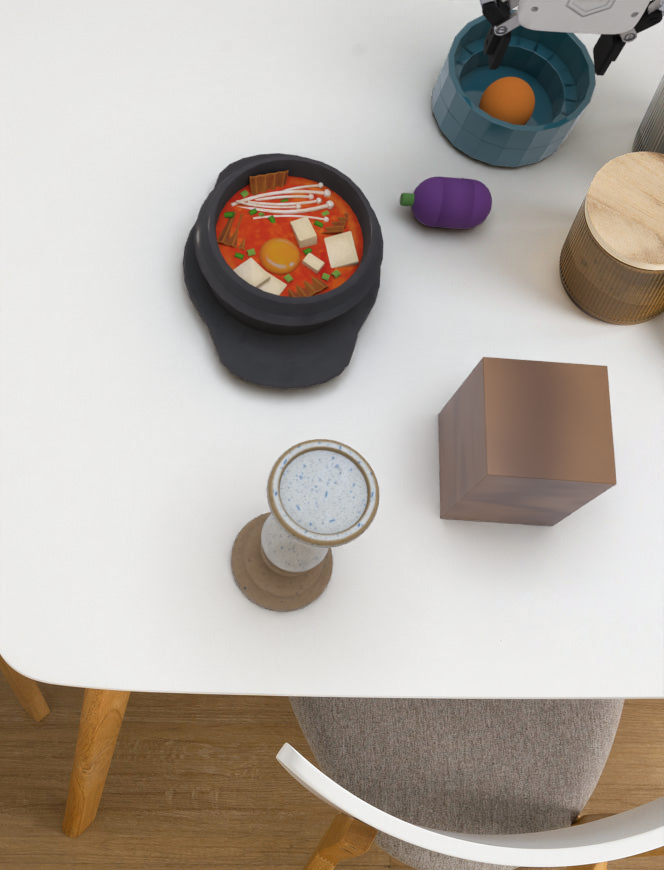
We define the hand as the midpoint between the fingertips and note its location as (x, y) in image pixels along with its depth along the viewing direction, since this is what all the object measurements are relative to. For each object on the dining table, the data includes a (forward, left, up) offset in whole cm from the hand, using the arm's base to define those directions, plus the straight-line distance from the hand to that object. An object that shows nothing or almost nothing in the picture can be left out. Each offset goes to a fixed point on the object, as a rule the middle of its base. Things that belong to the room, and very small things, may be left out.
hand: (544, 60), depth 89 cm
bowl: (+1, -2, -10) cm, 10 cm away
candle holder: (+22, +47, -10) cm, 53 cm away
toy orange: (+1, 0, -9) cm, 9 cm away
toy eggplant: (+7, +11, -10) cm, 16 cm away
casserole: (+23, +19, -10) cm, 31 cm away
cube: (+3, +37, -10) cm, 38 cm away
